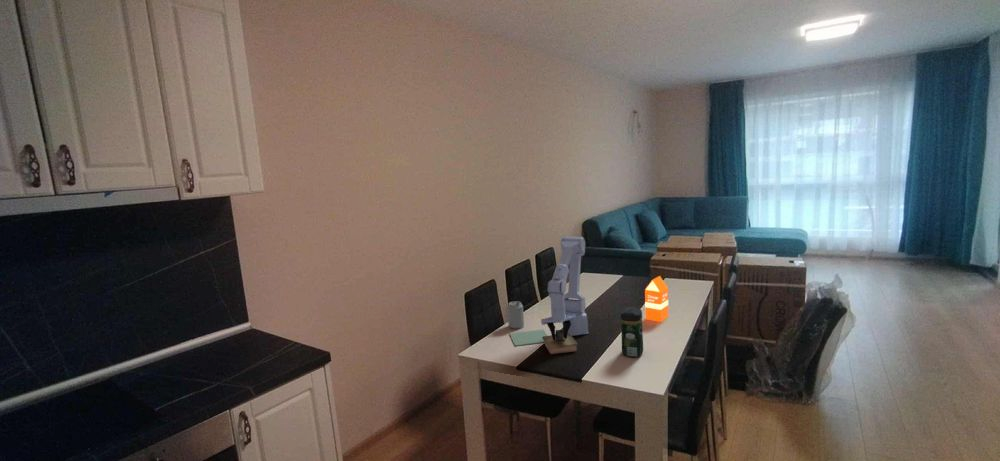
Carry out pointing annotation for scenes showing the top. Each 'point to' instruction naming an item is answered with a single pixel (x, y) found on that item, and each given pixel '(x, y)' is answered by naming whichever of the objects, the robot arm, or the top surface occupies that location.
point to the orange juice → (656, 300)
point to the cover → (559, 340)
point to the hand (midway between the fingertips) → (559, 338)
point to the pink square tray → (561, 349)
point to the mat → (528, 337)
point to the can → (515, 315)
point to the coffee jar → (632, 332)
